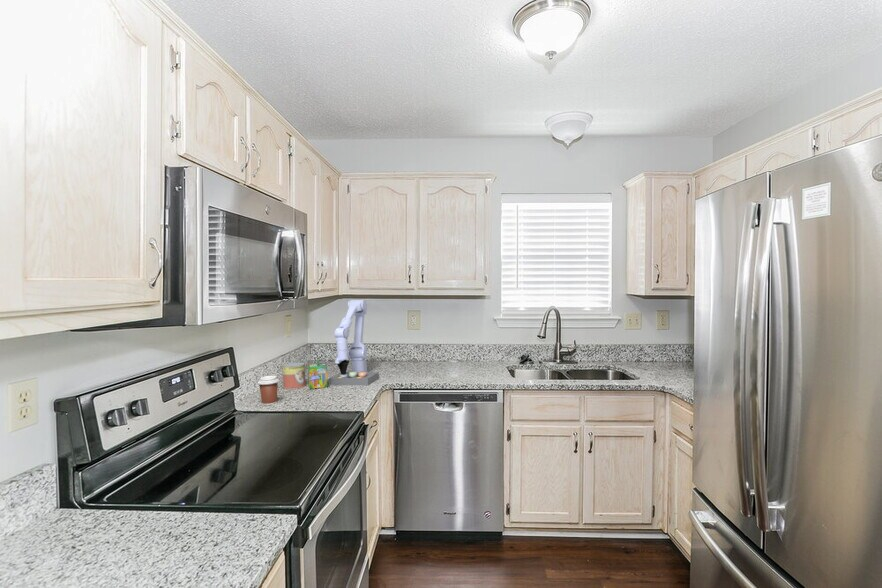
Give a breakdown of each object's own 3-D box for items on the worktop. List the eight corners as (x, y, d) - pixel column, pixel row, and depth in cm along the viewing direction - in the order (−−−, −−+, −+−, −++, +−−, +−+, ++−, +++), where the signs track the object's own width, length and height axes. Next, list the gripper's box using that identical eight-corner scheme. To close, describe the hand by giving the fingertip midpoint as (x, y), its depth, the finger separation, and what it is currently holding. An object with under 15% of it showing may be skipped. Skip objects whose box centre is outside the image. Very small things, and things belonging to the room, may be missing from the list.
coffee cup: (283, 400, 205) (282, 374, 205) (275, 405, 196) (273, 379, 196) (264, 400, 205) (262, 375, 205) (255, 406, 196) (253, 379, 196)
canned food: (293, 390, 225) (292, 367, 224) (278, 388, 230) (277, 365, 230) (310, 385, 234) (309, 363, 234) (295, 383, 240) (294, 361, 240)
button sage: (351, 376, 240) (350, 371, 240) (357, 377, 239) (357, 371, 239) (348, 378, 236) (347, 372, 236) (354, 378, 235) (354, 373, 235)
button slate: (341, 379, 241) (341, 373, 241) (348, 379, 240) (348, 373, 240) (338, 380, 237) (338, 375, 237) (345, 380, 237) (345, 375, 236)
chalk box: (308, 386, 233) (306, 358, 233) (325, 384, 236) (324, 356, 236) (309, 389, 224) (308, 361, 224) (327, 387, 228) (326, 359, 227)
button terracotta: (360, 377, 239) (360, 371, 239) (367, 377, 238) (367, 371, 238) (357, 378, 235) (357, 373, 235) (364, 378, 234) (364, 373, 234)
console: (342, 378, 250) (342, 371, 250) (378, 378, 245) (378, 371, 245) (329, 384, 234) (329, 377, 234) (368, 385, 229) (367, 378, 229)
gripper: (341, 347, 246) (342, 371, 247) (329, 351, 232) (330, 377, 233) (353, 347, 245) (354, 371, 245) (341, 351, 231) (342, 377, 231)
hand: (343, 374), depth 239 cm, fingers closed
